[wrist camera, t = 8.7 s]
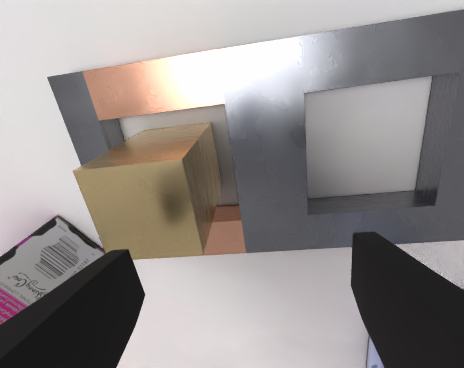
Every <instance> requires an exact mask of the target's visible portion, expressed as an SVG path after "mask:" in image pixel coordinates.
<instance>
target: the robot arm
mask: <svg viewBox="0 0 464 368" xmlns="http://www.w3.org/2000/svg"><path fill="white" fill-rule="evenodd" d="M351 287H352V290H353V293H354V297H355V300H356V303H357V306H358V309H359V312H360V315H361V317H362V320H363V322H364V324H365V327H366V329H367V331H368V333H369V336H370V338H369V348H368V358H367V368H464V290H463V289H461V288H459V287H458V286H456V285H455V284H453V283H451V282H450V281H448V280H447V279H445V278H444V277H442V276H440V275H439V274H437V273H436V272H434V271H433V270H431V269H430V268H428V267H427V266H425V265H424V264H422V263H421V262H419V261H418V260H416V259H415V258H413V257H412V256H410V255H409V254H407V253H406V252H404V251H403V250H402V249H400V248H399V247H397V246H396V245H394V244H393V243H391V242H390V241H388V240H387V239H385V238H384V237H382V236H381V235H379V234H378V233H376V232H375V231H373V232H359V233H353V241H352V270H351ZM144 297H145V293H144V290H143V287H142V285H141V282H140V279H139V277H138V274H137V271H136V268H135V266H134V263H133V260H132V258H131V255H130V252H129V249H121V250H111V251H109V252H108V253H106V254H104V255H103V256H101V257H100V258H98V259H96V260H95V261H93V262H92V263H90V264H89V265H88V266H86V267H85V268H83V269H82V270H80V271H79V272H77V273H76V274H75V275H73V276H72V277H70V278H69V279H67V280H66V281H64V282H63V283H62V284H60V285H59V286H57V287H56V288H54V289H53V290H52V291H50V292H49V293H47V294H46V295H44V296H43V297H41V298H40V299H38V300H37V301H35V302H34V303H32V304H31V305H29V306H28V307H26V308H25V309H23V310H22V311H20V312H19V313H17V314H16V315H14V316H13V317H11V318H9V319H8V320H6V321H5V322H3V323H2V324H0V368H116V367H117V365H118V363H119V360H120V358H121V356H122V354H123V352H124V350H125V347H126V345H127V343H128V341H129V339H130V336H131V334H132V332H133V330H134V327H135V325H136V322H137V319H138V316H139V313H140V310H141V307H142V304H143V300H144Z"/></svg>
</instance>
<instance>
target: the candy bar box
mask: <svg viewBox="0 0 464 368" xmlns="http://www.w3.org/2000/svg"><path fill="white" fill-rule="evenodd" d="M104 254H105V252H104V251H102V250H101V249H100V248H99V247H97V246H96V245H95V244H94V243H92V242H91V241H89V240H88V239H87V238H86V237H84V236H83V235H82V234H81V233H80V232H78V231H77V230H76V229H74V228H73V227H72V226H71V225H70V224H68V223H67V222H65V221H64V220H63V219H61V218H60V217H58V216H55V217H54V218H52V219H51V220H50V221H48V222H47V223H46V224H44V225H43V226H42V227H40V228H39V229H38V230H36V231H35V232H34V233H32V234H31V235H30V236H28V237H27V238H25V239H24V240H23V241H21V242H20V243H19V244H17V245H16V246H14V247H13V248H12V249H10V250H9V251H8V252H6V253H5V254H4V255H2V256H1V257H0V324H2V323H3V322H5V321H6V320H8V319H9V318H11V317H13V316H14V315H16V314H17V313H19V312H20V311H22V310H23V309H25V308H26V307H28V306H29V305H31V304H32V303H34V302H35V301H37V300H38V299H40V298H41V297H43V296H44V295H46V294H47V293H49V292H50V291H52V290H53V289H54V288H56V287H57V286H59V285H60V284H62V283H63V282H64V281H66V280H67V279H69V278H70V277H72V276H73V275H75V274H76V273H77V272H79V271H80V270H82V269H83V268H85V267H86V266H88V265H89V264H90V263H92V262H93V261H95V260H96V259H98V258H100V257H101V256H103V255H104Z"/></svg>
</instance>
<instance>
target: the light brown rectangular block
mask: <svg viewBox="0 0 464 368" xmlns="http://www.w3.org/2000/svg"><path fill="white" fill-rule="evenodd" d="M73 173H74V175H75V178H76V180H77V183H78V185H79V188H80V190H81V193H82V195H83V198H84V200H85V203H86V205H87V208H88V210H89V213H90V215H91V217H92V220H93V222H94V225H95V227H96V230H97V232H98V235H99V237H100V240H101V242H102V245H103V247H104V250H105V252H106V253H108V252H109V251H111V250H121V249H129V252H130V255H131V258H132V260H134V259H151V258H169V257H186V256H203V255H204V251H205V247H206V244H207V240H208V237H209V233H210V229H211V226H212V222H213V219H214V215H215V211H216V208H217V204H218V201H219V197H220V193H221V190H222V184H221V178H220V172H219V166H218V160H217V154H216V148H215V142H214V136H213V130H212V124H211V122H209V123H201V124H193V125H185V126H177V127H169V128H161V129H153V130H144V131H141V132H140V133H138V134H136V135H134V136H133V137H131V138H129V139H128V140H126V141H124V142H122V143H121V144H119V145H117V146H115V147H114V148H112V149H110V150H108V151H107V152H105V153H103V154H101V155H100V156H98V157H96V158H94V159H93V160H91V161H89V162H88V163H86V164H84V165H82V166H81V167H79V168H77V169H75V170H74V171H73Z"/></svg>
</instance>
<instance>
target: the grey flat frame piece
mask: <svg viewBox="0 0 464 368" xmlns="http://www.w3.org/2000/svg"><path fill="white" fill-rule="evenodd" d="M426 76H433V79H432V86H431V92H430V99H429V105H428V112H427V119H426V125H425V132H424V138H423V145H422V152H421V158H420V165H419V171H418V178H417V185H416V190H415V191H403V192H391V193H379V194H367V195H355V196H343V197H331V198H319V199H307V171H306V136H305V100H304V93H307V92H315V91H322V90H330V89H337V88H345V87H352V86H359V85H367V84H374V83H382V82H389V81H397V80H404V79H411V78H419V77H426ZM47 78H48V81H49V83H50V86H51V88H52V91H53V93H54V96H55V99H56V101H57V104H58V106H59V109H60V112H61V114H62V117H63V119H64V122H65V125H66V127H67V130H68V132H69V135H70V137H71V140H72V143H73V145H74V148H75V150H76V153H77V156H78V158H79V161H80V163H81V166H82V165H84V164H86V163H88V162H89V161H91V160H93V159H94V158H96V157H98V156H100V155H101V154H103V153H105V152H107V151H108V150H110V149H112V148H114V147H115V146H117V145H119V144H121V143H122V142H124V138H123V135H122V131H121V128H120V125H119V122H118V118H122V117H129V116H136V115H144V114H151V113H159V112H166V111H174V110H181V109H188V108H196V107H203V106H211V105H218V104H225V110H226V117H227V124H228V131H229V138H230V145H231V152H232V159H233V166H234V173H235V180H236V187H237V194H238V200H239V205H234V206H222V207H217V208H216V211H215V215H214V219H213V222H212V226H211V229H210V233H209V237H208V240H207V244H206V247H205V251H204V255H220V254H237V253H254V252H271V251H288V250H305V249H322V248H339V247H352V241H353V233H359V232H373V231H375V232H376V233H378V234H379V235H381V236H382V237H384V238H385V239H387V240H388V241H390V242H391V243H393V244H406V243H423V242H440V241H457V240H464V10H458V11H451V12H445V13H439V14H433V15H427V16H421V17H414V18H408V19H402V20H396V21H390V22H384V23H377V24H371V25H365V26H359V27H353V28H347V29H341V30H334V31H328V32H322V33H316V34H310V35H304V36H297V37H291V38H285V39H279V40H273V41H267V42H260V43H254V44H248V45H242V46H236V47H230V48H223V49H217V50H211V51H205V52H199V53H193V54H186V55H180V56H174V57H168V58H162V59H156V60H149V61H143V62H137V63H131V64H125V65H119V66H113V67H106V68H100V69H94V70H88V71H82V72H76V73H69V74H63V75H57V76H51V77H47ZM151 259H152V258H151ZM134 260H135V259H134Z"/></svg>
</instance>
